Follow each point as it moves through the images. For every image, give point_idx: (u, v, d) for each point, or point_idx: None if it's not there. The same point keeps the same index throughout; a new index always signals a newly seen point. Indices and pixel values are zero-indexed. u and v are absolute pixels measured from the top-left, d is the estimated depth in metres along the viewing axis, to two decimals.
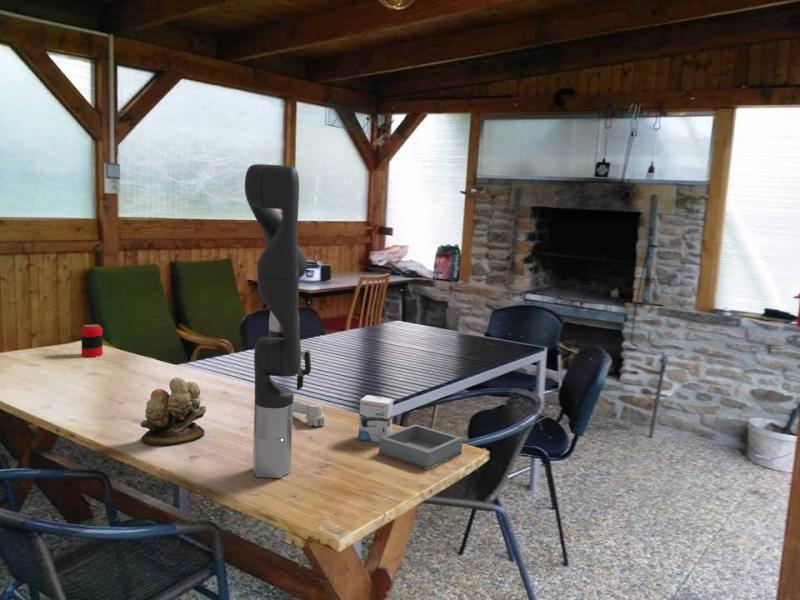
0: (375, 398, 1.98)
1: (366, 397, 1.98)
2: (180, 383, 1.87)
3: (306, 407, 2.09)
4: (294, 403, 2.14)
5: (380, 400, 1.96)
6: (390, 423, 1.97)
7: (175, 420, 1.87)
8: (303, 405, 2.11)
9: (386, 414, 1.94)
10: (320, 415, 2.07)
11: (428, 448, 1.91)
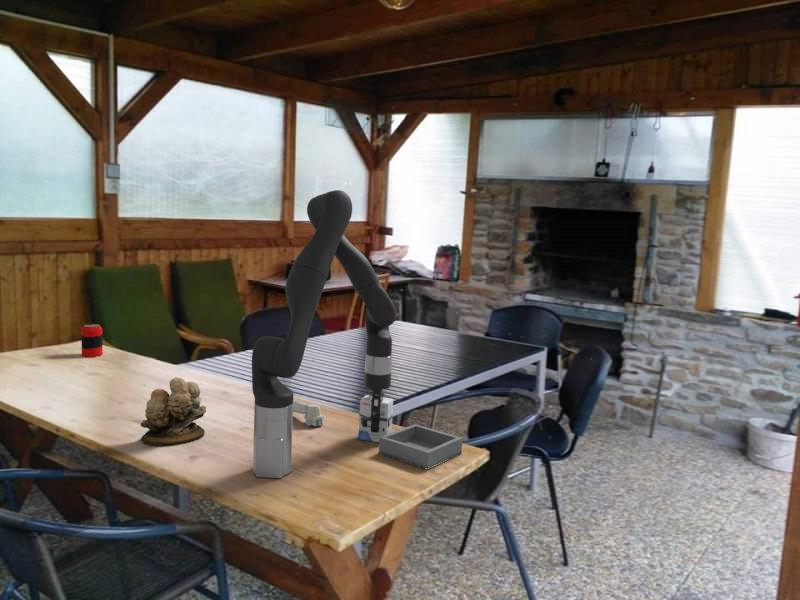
0: None
1: (366, 397, 1.98)
2: (180, 383, 1.87)
3: (305, 407, 2.09)
4: (293, 403, 2.14)
5: None
6: (390, 423, 1.97)
7: (175, 420, 1.87)
8: (302, 405, 2.11)
9: (386, 414, 1.94)
10: (318, 415, 2.06)
11: (428, 448, 1.91)
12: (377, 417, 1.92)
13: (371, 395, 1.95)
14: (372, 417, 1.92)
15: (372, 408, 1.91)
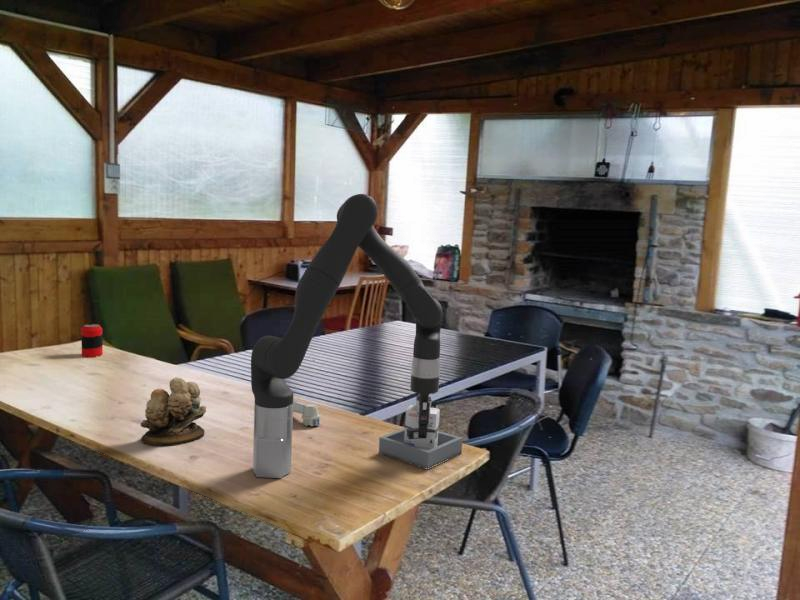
0: None
1: (411, 407, 1.88)
2: (180, 383, 1.87)
3: (302, 407, 2.09)
4: None
5: None
6: (437, 434, 1.87)
7: (175, 420, 1.87)
8: (300, 405, 2.11)
9: (434, 425, 1.84)
10: (315, 415, 2.06)
11: None
12: (426, 422, 1.81)
13: (418, 399, 1.85)
14: (420, 422, 1.81)
15: (420, 412, 1.80)
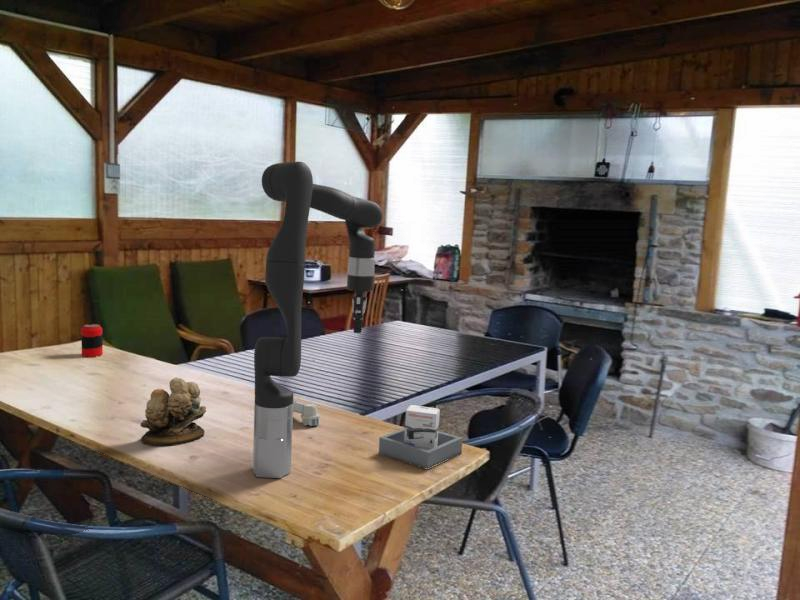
0: (421, 408, 1.88)
1: (411, 407, 1.88)
2: (180, 383, 1.87)
3: (301, 406, 2.10)
4: None
5: (427, 410, 1.86)
6: (437, 434, 1.87)
7: (175, 420, 1.87)
8: (299, 404, 2.11)
9: (434, 425, 1.84)
10: (314, 415, 2.07)
11: None
12: (359, 316, 1.92)
13: (354, 297, 1.97)
14: (354, 316, 1.92)
15: (354, 306, 1.91)
